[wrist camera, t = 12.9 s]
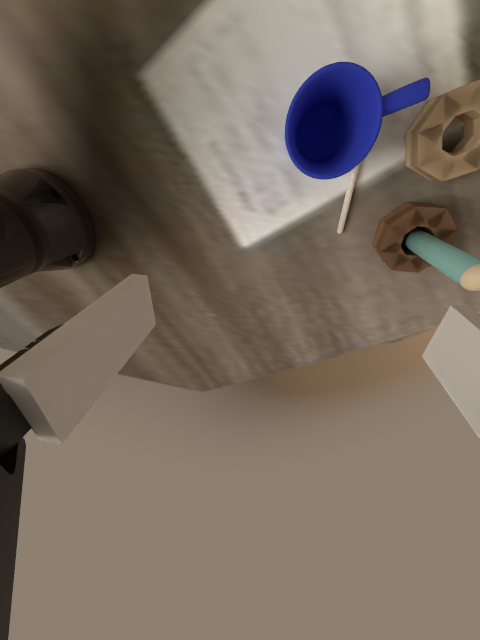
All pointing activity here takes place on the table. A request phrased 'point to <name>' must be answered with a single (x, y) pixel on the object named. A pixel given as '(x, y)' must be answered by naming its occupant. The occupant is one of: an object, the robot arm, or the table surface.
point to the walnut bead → (405, 220)
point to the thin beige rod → (347, 198)
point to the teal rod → (445, 258)
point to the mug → (341, 118)
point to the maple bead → (426, 135)
